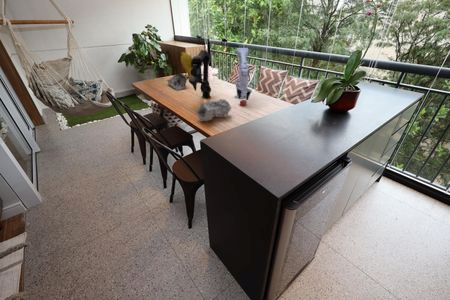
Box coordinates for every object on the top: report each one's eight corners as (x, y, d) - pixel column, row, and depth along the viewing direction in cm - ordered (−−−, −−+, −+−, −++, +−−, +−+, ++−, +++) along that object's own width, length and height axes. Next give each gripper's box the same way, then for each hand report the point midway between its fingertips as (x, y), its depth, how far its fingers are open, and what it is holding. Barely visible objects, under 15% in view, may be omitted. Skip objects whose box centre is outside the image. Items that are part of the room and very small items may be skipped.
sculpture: (191, 75, 276) (188, 51, 262) (201, 77, 256) (198, 51, 242) (178, 77, 267) (174, 52, 252) (186, 80, 247) (182, 52, 232)
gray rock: (192, 83, 223) (180, 73, 240) (188, 78, 216) (175, 68, 233) (181, 95, 223) (169, 84, 240) (176, 91, 217) (164, 80, 234)
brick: (242, 103, 186) (242, 99, 184) (246, 104, 184) (246, 100, 182) (239, 105, 182) (239, 101, 180) (243, 106, 180) (243, 102, 178)
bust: (212, 120, 140) (239, 108, 156) (200, 99, 140) (228, 90, 156) (203, 130, 153) (228, 118, 170) (191, 111, 154) (218, 101, 170)
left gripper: (183, 73, 168) (185, 92, 177) (200, 77, 159) (201, 96, 168) (192, 71, 175) (193, 88, 184) (209, 74, 166) (209, 92, 175)
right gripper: (234, 83, 173) (234, 98, 181) (249, 86, 166) (248, 102, 174) (238, 81, 178) (238, 96, 185) (253, 84, 171) (252, 99, 179)
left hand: (199, 91), depth 177 cm, fingers open, 9 cm apart
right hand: (243, 99), depth 180 cm, fingers open, 7 cm apart
